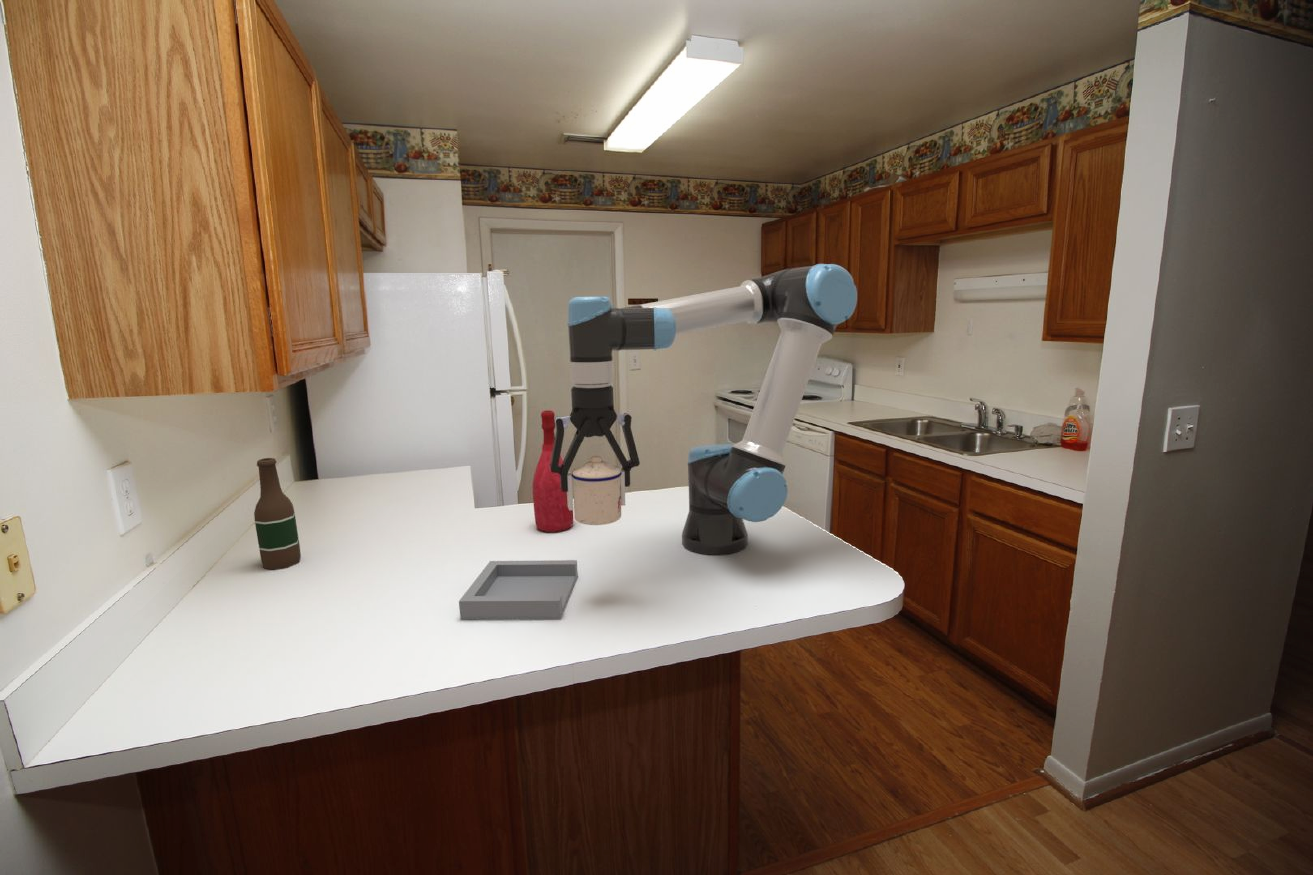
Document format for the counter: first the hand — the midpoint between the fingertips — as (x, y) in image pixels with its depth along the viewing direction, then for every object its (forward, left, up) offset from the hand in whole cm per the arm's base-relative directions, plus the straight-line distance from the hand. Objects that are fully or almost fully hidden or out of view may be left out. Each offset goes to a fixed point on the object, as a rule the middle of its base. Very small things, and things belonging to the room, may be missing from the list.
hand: (596, 505), depth 114 cm
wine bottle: (+17, -38, -18) cm, 46 cm away
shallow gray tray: (+15, +1, -18) cm, 23 cm away
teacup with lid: (0, 0, -2) cm, 2 cm away
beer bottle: (+74, -16, -18) cm, 78 cm away
